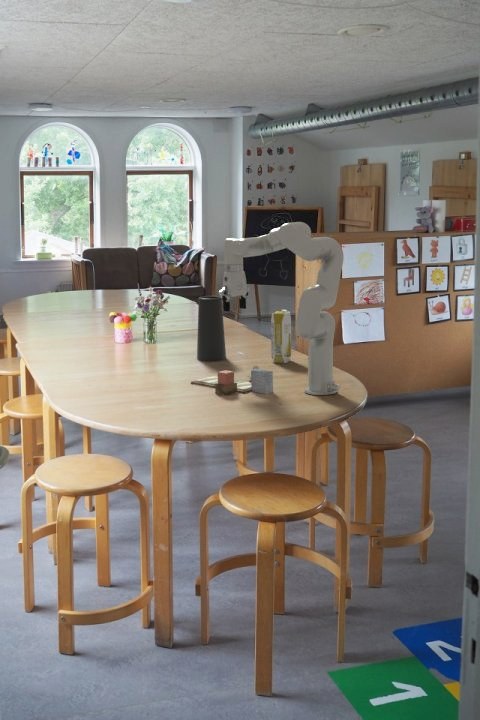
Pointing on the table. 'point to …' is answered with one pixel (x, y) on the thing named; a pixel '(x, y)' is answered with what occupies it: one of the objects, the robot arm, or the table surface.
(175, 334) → the table surface
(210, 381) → the board
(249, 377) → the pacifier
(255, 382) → the medicine box
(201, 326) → the dark tapered cylinder
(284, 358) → the juice carton
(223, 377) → the die
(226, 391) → the stand
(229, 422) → the table surface
